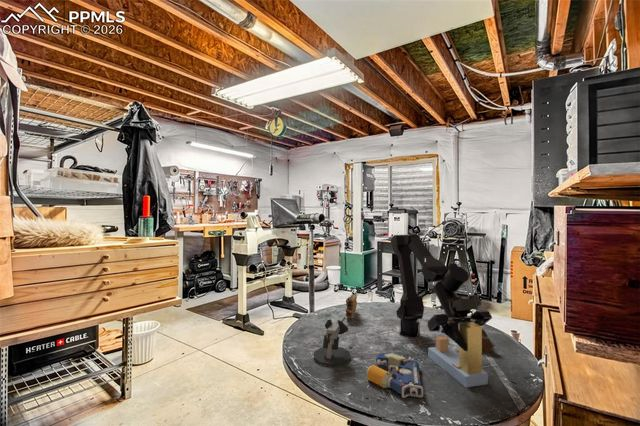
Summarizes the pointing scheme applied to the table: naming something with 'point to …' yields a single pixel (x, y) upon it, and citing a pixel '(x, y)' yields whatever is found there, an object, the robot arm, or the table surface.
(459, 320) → the robot arm
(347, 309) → the wooden carving
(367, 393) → the table surface
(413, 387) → the toy gun
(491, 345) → the bolt
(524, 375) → the table surface
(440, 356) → the plane body
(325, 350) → the gun turret
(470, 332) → the tan tall block
